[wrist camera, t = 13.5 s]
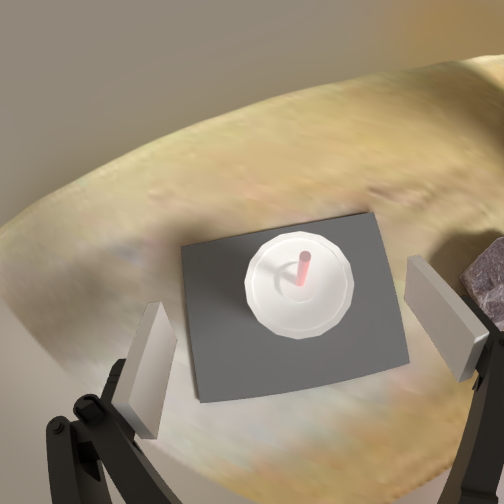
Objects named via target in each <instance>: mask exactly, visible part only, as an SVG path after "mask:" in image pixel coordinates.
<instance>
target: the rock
mask: <svg viewBox="0 0 504 504" xmlns="http://www.w3.org/2000/svg"><path fill="white" fill-rule="evenodd" d="M459 278H460V280H461V282H462V284H463V285H464V286H465V288H466V290H467V292H468V294H469V295H470V297H471V299H472V300H474V301H475V302H476V303H477V305H478V306H479V307H480V308H481V309H482V310H483V311H484V313H485V314H486V315H487V316H488V317H489V318H490V319H491V320H492V322H493V323H494V324H495V325H496V326H497V327H498V329H499V330H500V331H502V330H503V329H504V236H503V237H499V238H496V239H495V241H493V242H492V243H491V244H490V245H489V246H488V247H487V248H486V249H485V250H484V251H483V252H482V253H481V254H480V255H479V256H478V257H477V258H476V259H475V260H474V261H473V262H472V263H471V264H470V265H469V267H468V268H467V269H466V270H465V271H464V272H463V273H462V274H461V275H460V276H459Z"/></svg>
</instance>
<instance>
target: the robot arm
mask: <svg viewBox="0 0 504 504" xmlns="http://www.w3.org/2000/svg"><path fill="white" fill-rule="evenodd" d="M404 300H405V301H406V303H407V304H408V306H409V307H410V309H411V310H412V311H413V313H414V314H415V316H416V317H417V319H418V320H419V322H420V323H421V325H422V326H423V328H424V329H425V331H426V332H427V334H428V335H429V337H430V338H431V340H432V341H433V343H434V345H435V346H436V348H437V349H438V351H439V352H440V354H441V356H442V357H443V359H444V360H445V362H446V364H447V365H448V367H449V369H450V370H451V372H452V373H453V375H454V377H455V378H456V380H457V382H458V383H460V382H462V381H464V380H467V379H469V378H471V377H472V375H473V373H474V370H475V369H476V370H477V372H478V373H479V375H478V377H477V380H476V382H475V384H474V386H473V388H472V390H474V389H475V390H474V395H473V399H472V403H471V408H470V411H469V415H468V419H467V423H466V426H465V430H464V433H463V436H462V440H461V443H460V446H459V449H458V452H457V455H456V458H455V461H454V463H453V466H452V469H451V471H450V474H449V477H448V479H447V482H446V484H445V487H444V489H443V491H442V494H441V496H440V498H439V500H438V503H437V504H498V497H497V496H496V490H497V486H498V483H499V480H500V476H501V472H502V469H503V464H504V331H500V330H499V329H498V327H497V326H496V325H495V324H494V323H493V322H492V320H491V319H490V318H489V317H488V316H487V315H486V314H485V313H484V311H483V310H482V309H481V308H480V307H479V306H478V305H477V303H476V302H475V301H474V300H472V299H470V298H469V297H467V296H462V297H459V296H458V295H457V294H456V293H455V291H454V290H453V289H452V288H451V287H450V286H449V285H448V284H447V283H446V282H445V281H444V279H443V278H442V277H441V276H440V275H439V274H438V273H437V272H436V271H435V270H434V269H433V268H432V267H431V266H430V265H429V264H428V263H427V262H426V261H425V260H424V259H423V258H422V257H421V256H420V255H415V256H411V257H408V259H407V273H406V284H405V294H404ZM176 343H177V338H176V336H175V334H174V331H173V329H172V326H171V324H170V322H169V319H168V317H167V314H166V312H165V310H164V307H163V305H162V302H161V301H159V302H152V303H148V304H147V307H146V309H145V312H144V314H143V317H142V319H141V322H140V324H139V327H138V329H137V332H136V335H135V337H134V340H133V342H132V345H131V348H130V350H129V353H128V356H127V359H118V361H117V362H116V363H115V364H114V365H113V366H112V369H111V371H110V374H109V377H108V379H107V383H106V384H105V387H104V390H103V392H102V395H101V398H100V399H99V398H98V396H97V395H94V394H86V395H84V396H82V397H80V398H79V399H78V400H77V401H76V403H75V404H74V408H73V412H74V414H75V415H76V417H77V418H78V419H79V420H77V421H73V422H70V421H69V420H68V419H67V418H66V417H64V416H57V417H55V418H53V419H52V420H51V421H50V422H49V423H48V425H47V428H46V443H47V460H48V472H49V481H50V490H51V497H52V504H112V501H111V498H110V494H109V491H108V487H107V483H106V479H105V475H104V471H103V467H102V463H103V464H104V466H105V468H106V470H107V472H108V474H109V475H110V477H111V479H112V481H113V482H114V484H115V486H116V488H117V489H118V491H119V493H120V494H121V496H122V498H123V499H124V501H125V502H126V504H182V502H181V501H180V500H179V499H178V498H177V497H176V495H175V494H174V493H173V492H172V491H171V489H170V488H169V487H168V485H167V484H166V483H165V482H164V480H163V479H162V478H161V476H160V475H159V474H158V472H157V471H156V470H155V468H154V467H153V466H152V464H151V463H150V461H149V460H148V459H147V457H146V456H145V455H144V453H143V452H142V450H141V449H140V447H139V446H138V444H137V443H136V442H135V440H134V436H135V433H136V434H137V435H138V436H139V437H140V438H141V439H157V435H158V430H159V425H160V419H161V414H162V409H163V404H164V399H165V394H166V389H167V384H168V380H169V375H170V370H171V366H172V361H173V357H174V352H175V348H176ZM101 461H102V462H101Z"/></svg>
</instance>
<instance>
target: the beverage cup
mask: <svg viewBox="0 0 504 504" xmlns="http://www.w3.org/2000/svg"><path fill="white" fill-rule="evenodd" d="M244 282H245V289H246V297H247V303H248V305H249V306H250V308H251V310H252V311H253V313H254V315H255V316H256V318H257V320H258V321H259V322H260V323H261V324H263V325H264V326H265V327H267V328H268V329H269V330H271V331H272V332H274V333H275V334H276V335H281V336H285V337H289V338H294V339H303V338H309V337H314V336H320V335H321V334H323V333H324V332H326V331H328V330H329V329H331V328H332V327H334V326H335V325H337V324H338V323H339V322H340V320H341V319H342V317H343V316H344V314H345V313H346V311H347V310H348V308H349V307H350V305H351V300H352V295H353V289H354V280H353V275H352V271H351V266H350V263H349V262H348V260H347V259H346V257H345V256H344V255H343V253H342V252H341V250H340V249H339V247H338V246H336V245H335V244H333V243H332V242H330V241H329V240H327V239H326V238H324V237H323V236H321V235H317V234H312V233H307V232H302V231H298V232H292V233H286V234H280V235H279V236H277V237H275V238H273V239H272V240H270V241H268V242H267V243H265V244H263V245H262V246H261V248H260V249H259V250H258V252H257V253H256V254H255V255H254V257H253V258H252V259H251V261H250V263H249V267H248V270H247V274H246V278H245V281H244Z"/></svg>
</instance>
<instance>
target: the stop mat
mask: <svg viewBox="0 0 504 504" xmlns="http://www.w3.org/2000/svg"><path fill="white" fill-rule="evenodd" d="M298 231H302V232H307V233H312V234H317V235H321V236H323V237H324V238H326V239H327V240H329V241H330V242H332V243H333V244H335V245H336V246H338V247H339V249H340V250H341V252H342V253H343V255H344V256H345V257H346V259H347V260H348V262H349V263H350V266H351V271H352V275H353V280H354V289H353V295H352V300H351V305H350V307H349V308H348V310H347V311H346V313H345V314H344V316H343V317H342V319H341V320H340V322H339V323H338V324H337V325H335V326H334V327H332V328H331V329H329V330H328V331H326V332H324V333H323V334H321V335H320V336H314V337H309V338H303V339H294V338H289V337H285V336H281V335H276V334H275V333H274V332H272V331H271V330H269V329H268V328H267V327H265V326H264V325H263V324H261V323H260V322H259V321H258V320H257V318H256V316H255V315H254V313H253V311H252V310H251V308H250V306H249V305H248V303H247V297H246V289H245V282H244V281H245V278H246V274H247V270H248V267H249V263H250V261H251V259H252V258H253V257H254V255H255V254H256V253H257V252H258V250H259V249H260V248H261V246H262V245H263V244H265V243H267V242H268V241H270V240H272V239H273V238H275V237H277V236H279V235H280V234H286V233H292V232H298ZM181 252H182V263H183V274H184V284H185V294H186V303H187V312H188V321H189V329H190V337H191V344H192V352H193V359H194V366H195V373H196V379H197V386H198V392H199V398H200V403H208V402H219V401H229V400H238V399H246V398H254V397H261V396H268V395H275V394H281V393H287V392H293V391H298V390H304V389H309V388H314V387H319V386H324V385H328V384H333V383H337V382H342V381H346V380H350V379H354V378H358V377H362V376H366V375H370V374H374V373H377V372H381V371H385V370H388V369H392V368H395V367H398V366H402V365H405V364H408V363H410V361H409V355H408V349H407V344H406V338H405V333H404V328H403V323H402V318H401V313H400V308H399V304H398V299H397V295H396V291H395V287H394V283H393V279H392V275H391V271H390V267H389V263H388V259H387V256H386V252H385V248H384V245H383V241H382V238H381V234H380V231H379V228H378V225H377V221H376V218H375V215H374V212H371V213H365V214H359V215H353V216H347V217H341V218H335V219H330V220H324V221H318V222H312V223H307V224H301V225H295V226H290V227H284V228H279V229H273V230H267V231H262V232H257V233H251V234H246V235H240V236H235V237H230V238H224V239H219V240H214V241H208V242H203V243H198V244H193V245H187V246H182V247H181Z"/></svg>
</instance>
